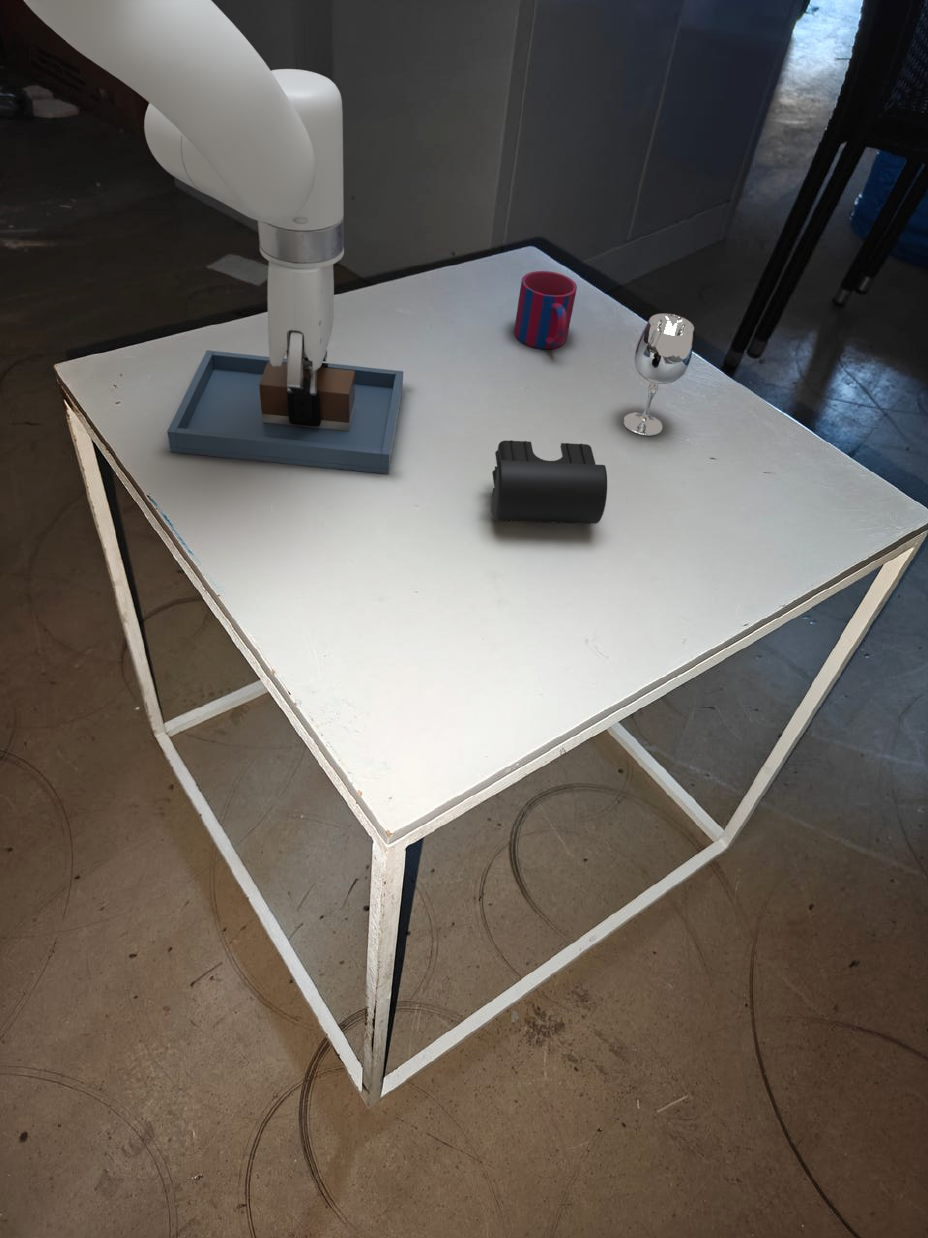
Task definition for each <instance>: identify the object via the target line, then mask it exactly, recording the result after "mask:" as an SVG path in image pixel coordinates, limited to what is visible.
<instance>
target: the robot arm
mask: <svg viewBox="0 0 928 1238" xmlns="http://www.w3.org/2000/svg"><path fill="white" fill-rule="evenodd" d="M23 2H24V3H25V4H26V5H27V7H28V8H29V9H30V10H31V11H32V12H33V13H34V14H35V15H36V16H37V18H39V19H40V20H41V21H42V22H43V23H44V24H45V25H46V26H48V27H49V28H50V29H51V30H52V31H54V32H55V34H57V35H58V36H59V37H60V38H61V39H63V40H65V42H66V43H67V44H68V45H70V46H71V47H72V48H73V49H75V50H76V51H77V52H79V53H80V54H81V55H82V56H84V57H86V58H87V59H89V60H90V61H91V62H92V63H94V64H96V65H97V66H99V67H100V68H102V69H103V70H105V71H106V72H108V73H109V74H111V75H112V76H114V77H115V78H116V79H118V80H120V82H122V83H124V84H125V86H128V87H129V88H130V89H132V90H133V91H134V92H136V93H137V94H138V95H139V96H140V97H142V98H143V99H144V100H146V101H147V102H148V106H147V109H146V111H145V115H144V124H143V125H144V126H143V129H144V135H145V140H146V143H147V145H148V148H149V150H150V153H151V155H153V157H154V159H155V160H156V162H157V163H158V164H159V165H160V166H161V167H162V168H163V169H164V170H165V172H167V173H169V174H170V175H171V176H173V177H174V178H176V179H177V180H179V181H180V182H182V183H184V184H185V185H187V186H190V187H192V188H193V189H194V190H197V191H199V192H200V193H202V194H204V195H206V196H209V197H211V198H213V199H214V200H216V201H218V202H221V203H222V204H224V205H226V206H228V207H229V208H231V209H233V210H235V211H236V212H238V213H240V214H241V215H243V216H245V217H247V218H249V219H252V220H254V221H257V232H258V244H259V252H260V254H261V256H262V257H263V258H264V259H265V260H266V261H268V266H267V267H268V268H267V331H268V333H267V334H268V357H269V360H270V363H271V365H272V366H273V367H277V366H281V365H282V362H283V360H284V359H285V357H286V359H287V399H288V414H289V422H290V423H291V424H294V425H304V426H313V427H319V426H320V424H321V404H320V390H317V369H318V368H320V367H322V368H328V363H329V362H327V359H328V346H329V342H330V339H331V336H332V331H333V328H334V327H333V326H334V319H335V277H334V264H337V263H338V262H339V261H341V260H342V258H343V257H344V255H345V228H344V227H345V226H344V225H345V223H344V222H345V221H344V217H345V214H344V213H345V212H344V211H345V210H344V205H345V204H344V200H345V199H344V129H343V128H344V124H343V123H344V119H343V117H344V116H343V115H344V114H343V100H342V95H341V92H340V90H339V88H338V86H337V85H336V84H335V83H334V82H333V81H332V80H331V78H328V77H327V76H324V75H322V74H320V73H317V72H314V71H310V70H304V69H296V68H280V69H272V70H271V69H270V68H269V66H268V65H267V63H266V61H264V59H263V58H262V56H261V55H260V54H259V52H257V50H256V49H255V48H254V46H253V45H252V44H251V43H250V41H249V40H248V39H247V38H246V37H245V35H244V34H243V33H242V32H241V31H240V30H239V28H238V27H237V26H236V25H235V24H234V23H233V22H232V21H231V19H230V18H228V17H227V15H225V13H224V12H223V11H222V10H221V9H220V8H219V7H218V6H217V5H216V3H215V2H213V0H23ZM303 370H307V371H310V381H309V379H308V378H306V377H304V376H303Z"/></svg>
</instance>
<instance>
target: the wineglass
mask: <svg viewBox="0 0 928 1238" xmlns="http://www.w3.org/2000/svg"><path fill="white" fill-rule="evenodd" d="M694 340H695V326H694V324H693V322H691V321H689V320H688V319H687V318H685V317H682V316H680V315H676V314H672V313H656V314H654V315H652V316H651V317H650V318H649V319H648V320H647V323H646V324H645V326H644V328H643V330H642V332H641V334H640V336H639V339H638V342H637V344H636V347H635V351H634V366H635V369H636V371H637V373H638V374H639V375H640V377H642V378H643V379H644V380H646V381H648V382H650V383H649V385H648V387H647V388H648V390H647V401H646V405H645V408H644V411H643V412H641V411H639V412H637V411H635V412H630V413H628V414H626V415H625V416H624V417H623V420H622V423H623V425H624V427H625V428H626V429H627V430H629V431H630V432H632V433H634V434H637V435H640V436H643V437H646V436H647V437H650V436H651V437H652V436H656V435H658V434H660V433H661V432H663V431H662V430H663V423H662V421H661V420H660V419H658V418H657V417H656V416H654V415H652V414H650V413H649V412H650V408H651V405H652V401H653V399H654V397H655V396H656V394H657V392H658V390H659V385H667V384H671V383H674V382H676V381H678V380H680V378H681V377H683V376H684V374H685V373H686V371H687V369H688V367H689V366H690V363H691V360H692V355H693V349H694V343H695V342H694Z"/></svg>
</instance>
